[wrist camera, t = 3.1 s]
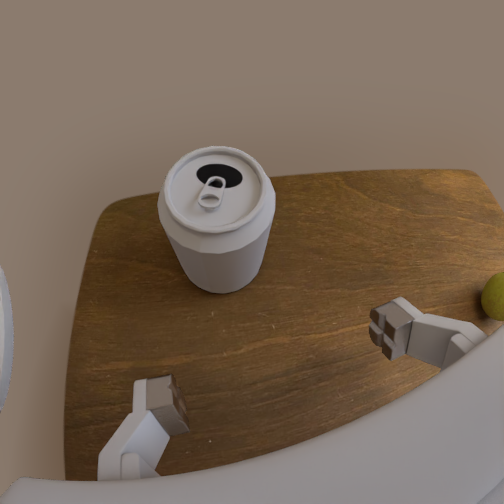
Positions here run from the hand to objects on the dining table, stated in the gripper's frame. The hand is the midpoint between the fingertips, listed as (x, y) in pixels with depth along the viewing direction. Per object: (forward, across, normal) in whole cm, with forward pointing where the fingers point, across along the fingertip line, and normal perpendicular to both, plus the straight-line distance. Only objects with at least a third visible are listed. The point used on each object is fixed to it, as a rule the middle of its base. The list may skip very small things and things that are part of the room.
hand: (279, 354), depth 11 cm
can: (+18, 0, +4) cm, 18 cm away
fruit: (+7, -28, +14) cm, 32 cm away
